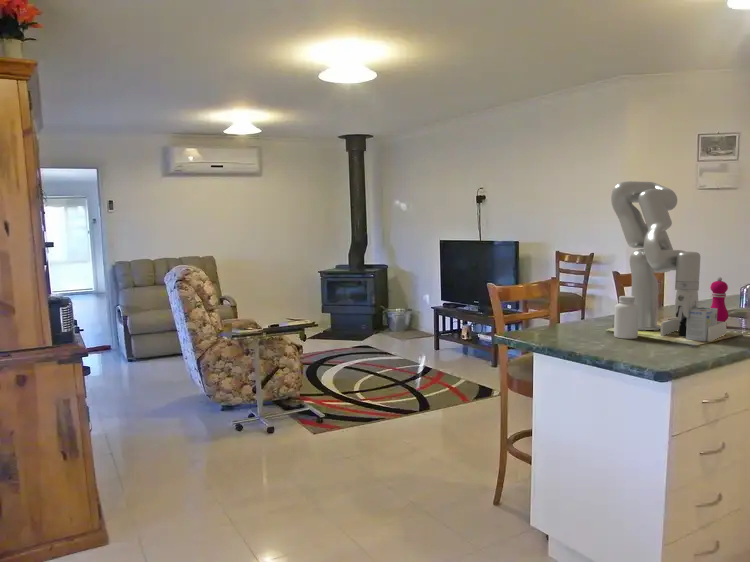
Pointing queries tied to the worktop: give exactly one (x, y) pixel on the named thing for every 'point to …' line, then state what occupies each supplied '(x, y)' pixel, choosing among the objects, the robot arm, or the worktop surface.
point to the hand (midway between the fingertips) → (684, 336)
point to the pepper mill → (719, 299)
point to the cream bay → (713, 330)
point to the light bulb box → (700, 323)
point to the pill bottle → (626, 318)
